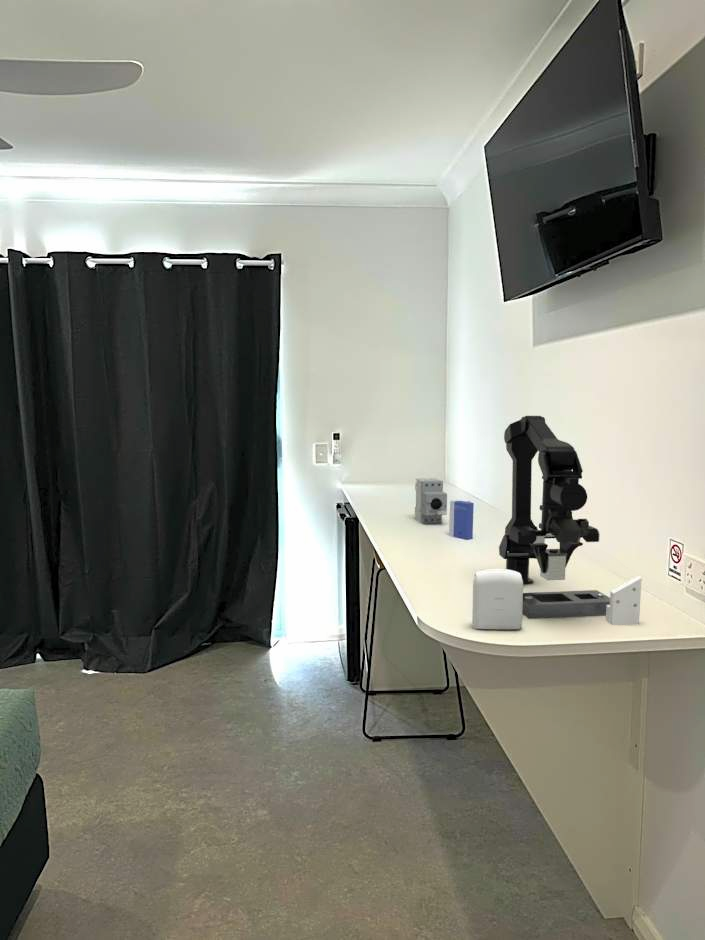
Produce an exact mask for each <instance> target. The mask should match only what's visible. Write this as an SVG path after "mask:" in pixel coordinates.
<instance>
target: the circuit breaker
mask: <svg viewBox="0 0 705 940" xmlns="http://www.w3.org/2000/svg"><path fill="white" fill-rule="evenodd" d="M415 480H416V482H414V483H415V486H414V488H415V489H414V490H415V506H414V516H415V518H414V520H415V521H416V522H418V523H420V524H421V525H425V524H443V517H442V516H446V515H447V513H448V512H447V511H448V508H447V507H448V493H447V492H446V491H445V492H444V491H443V490H444V480H441V479H438V478H435V477H433V478H432V477H431V478H428V477H427V478H415Z"/></svg>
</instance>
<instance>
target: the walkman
mask: <svg viewBox="0 0 705 940" xmlns="http://www.w3.org/2000/svg"><path fill="white" fill-rule="evenodd" d="M448 522H449V525H448V527H449V529H448V530H449V531H448V536H449V537H454V538H457V539H462V540H465V541H466V540H473V539H474V538H473V536H474V535H473V534H474V502H471V501H469V500H467V501H464V500H458V499H451V500H449V521H448Z"/></svg>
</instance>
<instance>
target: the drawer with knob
mask: <svg viewBox="0 0 705 940" xmlns="http://www.w3.org/2000/svg"><path fill="white" fill-rule="evenodd" d="M566 556H567V553H566V552H564V551H562V550H560V548H547V549H546V570H545V573H542V572H541V569H540V568H539V569H540V571H539V572H540V573H539V574H540V577H541V578H543V579H545V580H546V581H565V580H566V568H567V566H566Z"/></svg>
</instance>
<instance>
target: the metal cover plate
mask: <svg viewBox="0 0 705 940" xmlns="http://www.w3.org/2000/svg"><path fill="white" fill-rule="evenodd" d="M606 605H610V596H607V595H606V594H604V593H603V592H601V591H599V590H597V589H589V590H565V591H563V590H562V591H541V592H538V591H537V592H523V607H522V615H524V616H525V617H526V618H527V619H531V620H532V619H549V618H550V619H551V618H552V619H553V618H555V619H556V618H570V617H571V618H574V617H575V618H576V617H577V618H578V617H594V616H595V617H597V616H598V617H599V616H606Z"/></svg>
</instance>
